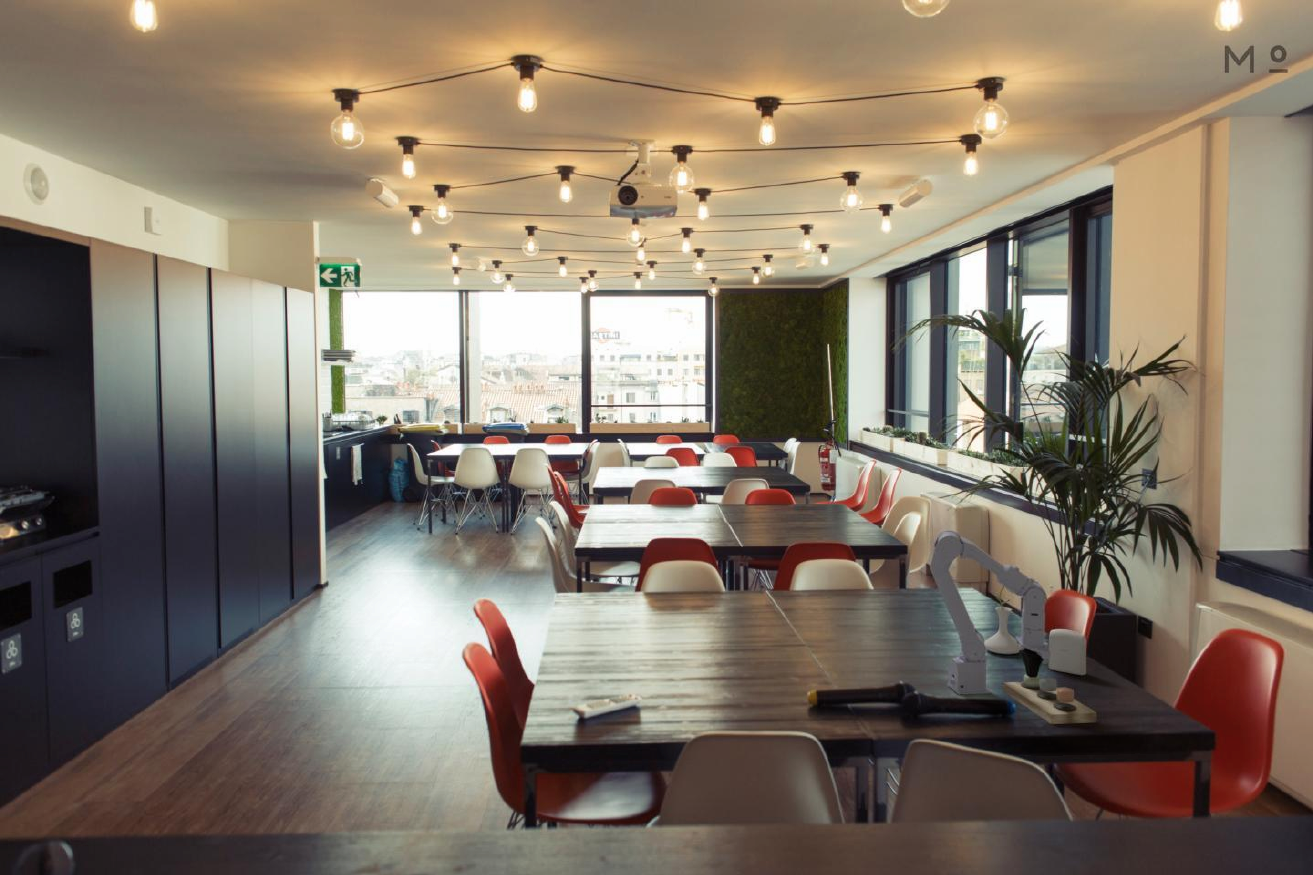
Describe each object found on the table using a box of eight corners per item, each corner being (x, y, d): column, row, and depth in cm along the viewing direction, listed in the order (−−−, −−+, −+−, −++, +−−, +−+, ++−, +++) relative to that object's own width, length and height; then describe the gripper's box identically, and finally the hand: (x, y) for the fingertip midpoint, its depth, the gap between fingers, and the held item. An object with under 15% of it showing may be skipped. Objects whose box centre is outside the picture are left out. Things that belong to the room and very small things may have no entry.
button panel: (1050, 723, 220) (1051, 712, 220) (1003, 690, 244) (1003, 680, 244) (1096, 722, 221) (1096, 711, 221) (1044, 689, 245) (1044, 679, 245)
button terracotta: (1062, 702, 222) (1062, 692, 222) (1053, 696, 226) (1053, 687, 226) (1077, 701, 223) (1077, 692, 222) (1068, 696, 227) (1068, 687, 226)
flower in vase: (1025, 658, 273) (1027, 578, 272) (986, 656, 275) (988, 576, 274) (1017, 646, 286) (1019, 569, 284) (980, 644, 288) (981, 568, 287)
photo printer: (1046, 669, 263) (1047, 628, 262) (1051, 665, 266) (1052, 625, 265) (1082, 677, 256) (1084, 634, 255) (1087, 673, 259) (1088, 631, 258)
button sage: (1028, 687, 238) (1028, 679, 238) (1020, 682, 242) (1021, 674, 242) (1042, 687, 239) (1042, 678, 238) (1034, 682, 243) (1034, 673, 242)
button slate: (1044, 691, 230) (1045, 682, 230) (1036, 686, 234) (1036, 677, 234) (1059, 690, 231) (1059, 681, 230) (1050, 685, 235) (1051, 676, 234)
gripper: (1062, 634, 233) (1060, 685, 233) (1032, 620, 247) (1031, 667, 248) (1036, 635, 232) (1035, 686, 233) (1008, 620, 246) (1007, 668, 247)
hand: (1031, 677), depth 240 cm, fingers closed, pressing on button sage
